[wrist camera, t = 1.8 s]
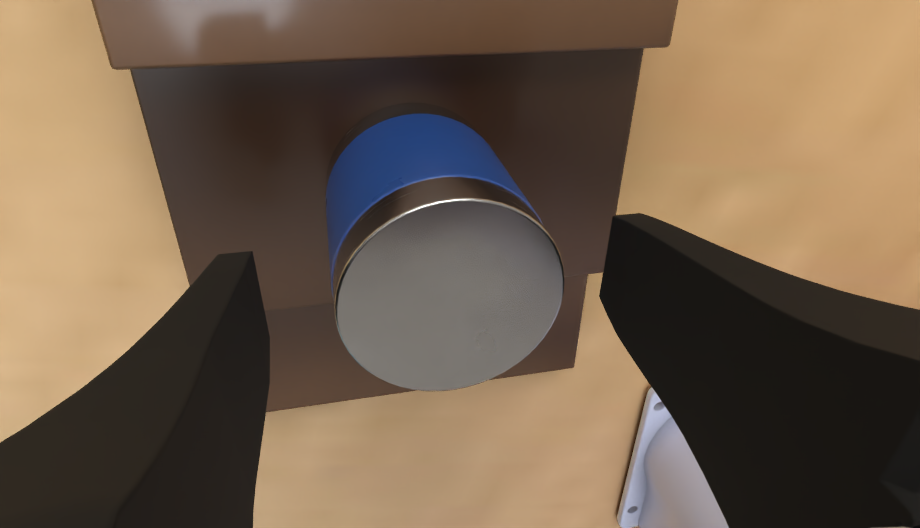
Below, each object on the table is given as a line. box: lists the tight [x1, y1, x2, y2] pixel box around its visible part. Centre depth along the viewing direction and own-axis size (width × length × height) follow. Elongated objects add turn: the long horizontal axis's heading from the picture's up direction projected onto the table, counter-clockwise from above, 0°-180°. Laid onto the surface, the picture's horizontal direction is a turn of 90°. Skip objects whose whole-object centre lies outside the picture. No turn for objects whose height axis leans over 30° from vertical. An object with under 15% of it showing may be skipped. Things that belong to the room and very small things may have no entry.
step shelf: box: [92, 0, 678, 412], centre depth 16 cm, size 19×12×4 cm, turn 179°
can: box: [326, 103, 564, 391], centre depth 14 cm, size 4×4×5 cm
